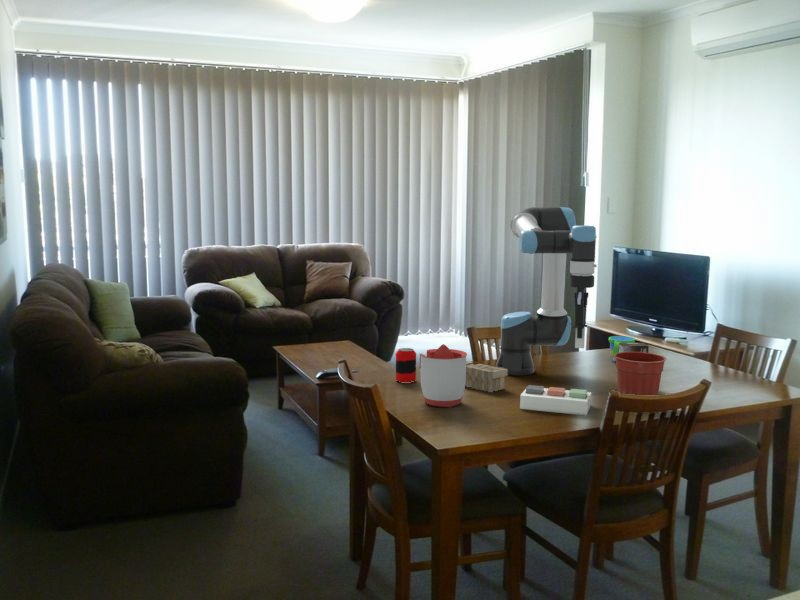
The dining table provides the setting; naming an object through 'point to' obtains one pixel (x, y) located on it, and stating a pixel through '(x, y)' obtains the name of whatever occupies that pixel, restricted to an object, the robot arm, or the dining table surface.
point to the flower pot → (639, 372)
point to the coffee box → (633, 347)
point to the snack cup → (615, 344)
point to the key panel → (555, 403)
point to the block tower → (485, 377)
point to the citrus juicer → (443, 376)
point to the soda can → (405, 365)
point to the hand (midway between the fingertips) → (579, 347)
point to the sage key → (578, 393)
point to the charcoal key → (535, 389)
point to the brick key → (556, 391)
